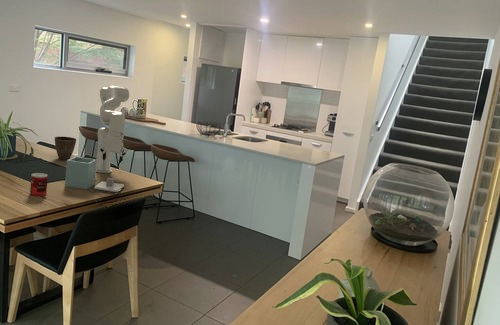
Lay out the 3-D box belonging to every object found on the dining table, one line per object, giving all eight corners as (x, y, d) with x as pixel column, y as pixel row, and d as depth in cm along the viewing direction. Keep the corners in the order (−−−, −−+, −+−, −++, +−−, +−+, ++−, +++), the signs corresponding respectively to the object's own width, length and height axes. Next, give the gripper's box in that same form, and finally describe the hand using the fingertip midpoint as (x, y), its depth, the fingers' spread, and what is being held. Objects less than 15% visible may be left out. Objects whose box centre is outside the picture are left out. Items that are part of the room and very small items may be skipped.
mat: (102, 184, 244) (102, 184, 244) (124, 188, 245) (124, 187, 245) (94, 190, 230) (94, 190, 230) (117, 194, 231) (117, 193, 231)
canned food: (33, 191, 212) (35, 172, 210) (48, 193, 213) (50, 174, 211) (27, 195, 205) (28, 175, 203) (42, 197, 206) (44, 177, 204)
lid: (101, 184, 244) (102, 174, 243) (124, 187, 245) (125, 177, 244) (94, 190, 230) (95, 179, 229) (117, 193, 231) (118, 183, 230)
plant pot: (69, 162, 284) (70, 141, 282) (49, 159, 284) (50, 138, 281) (78, 158, 299) (79, 138, 296) (59, 155, 299) (60, 135, 296)
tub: (73, 180, 242) (75, 156, 239) (94, 184, 243) (96, 159, 240) (64, 186, 229) (66, 160, 227) (86, 189, 230) (89, 163, 227)
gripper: (131, 135, 235) (128, 162, 239) (102, 130, 234) (100, 157, 238) (127, 137, 228) (124, 164, 232) (98, 132, 227) (95, 160, 230)
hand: (112, 161), depth 235 cm, fingers open, 9 cm apart
